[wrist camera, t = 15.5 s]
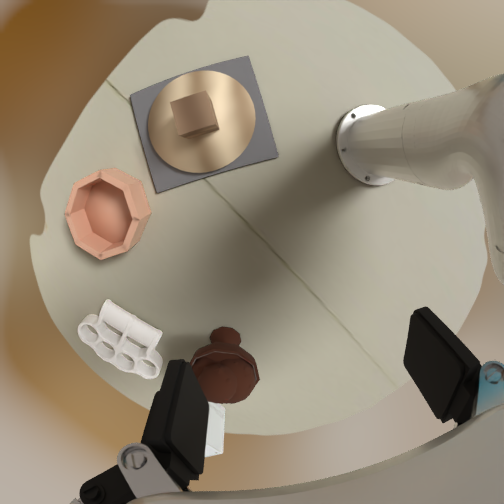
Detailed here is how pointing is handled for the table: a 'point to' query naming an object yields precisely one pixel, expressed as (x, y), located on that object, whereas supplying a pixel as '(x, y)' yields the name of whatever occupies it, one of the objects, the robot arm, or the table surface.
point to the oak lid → (201, 121)
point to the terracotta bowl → (107, 212)
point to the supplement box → (215, 430)
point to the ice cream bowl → (225, 368)
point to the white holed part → (123, 340)
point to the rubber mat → (255, 152)
